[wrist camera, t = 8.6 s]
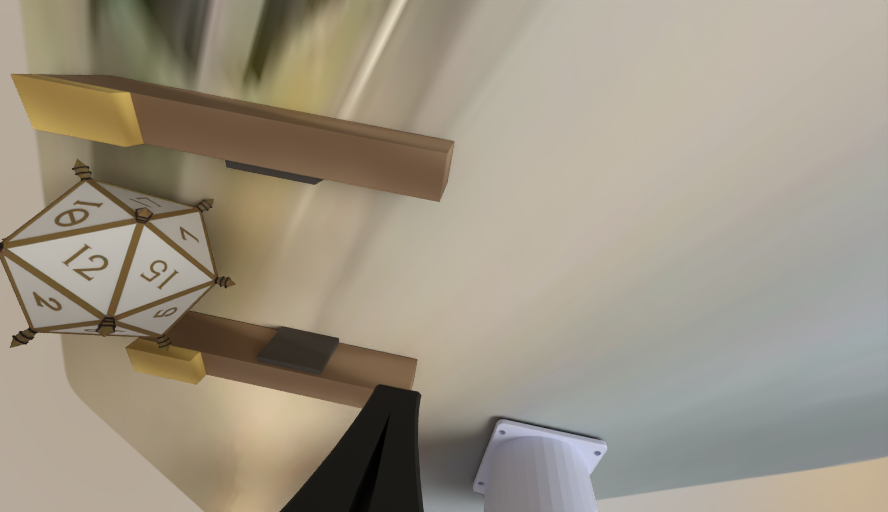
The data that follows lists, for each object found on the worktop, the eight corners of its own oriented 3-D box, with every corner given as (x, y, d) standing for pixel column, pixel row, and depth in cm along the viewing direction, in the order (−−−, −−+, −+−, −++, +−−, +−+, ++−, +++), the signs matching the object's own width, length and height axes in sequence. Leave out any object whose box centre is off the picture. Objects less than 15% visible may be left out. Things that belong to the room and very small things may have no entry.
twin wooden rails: (413, 379, 23) (401, 429, 20) (184, 330, 24) (135, 370, 20) (454, 141, 15) (444, 157, 12) (110, 75, 16) (10, 73, 13)
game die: (230, 233, 24) (87, 348, 19) (118, 122, 18) (-130, 253, 13) (301, 269, 19) (135, 433, 15) (182, 136, 13) (-169, 346, 8)
